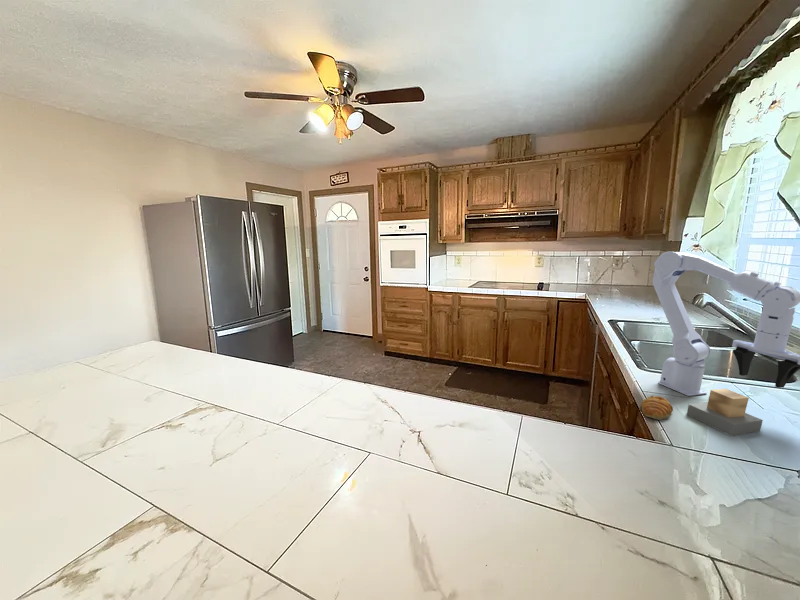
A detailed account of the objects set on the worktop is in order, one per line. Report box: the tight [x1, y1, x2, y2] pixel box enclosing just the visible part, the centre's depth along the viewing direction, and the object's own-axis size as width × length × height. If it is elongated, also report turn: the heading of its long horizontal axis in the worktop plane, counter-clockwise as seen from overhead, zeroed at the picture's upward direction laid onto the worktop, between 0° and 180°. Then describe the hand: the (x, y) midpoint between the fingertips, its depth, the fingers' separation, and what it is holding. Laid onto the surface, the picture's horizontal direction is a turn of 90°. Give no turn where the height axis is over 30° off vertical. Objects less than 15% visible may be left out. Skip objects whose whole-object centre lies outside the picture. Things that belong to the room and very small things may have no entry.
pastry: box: [640, 395, 674, 421], centre depth 89 cm, size 9×7×4 cm
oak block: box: [707, 388, 750, 418], centre depth 85 cm, size 5×5×5 cm
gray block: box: [686, 401, 764, 437], centre depth 85 cm, size 10×10×3 cm
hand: (760, 380), depth 89 cm, fingers open, 7 cm apart
